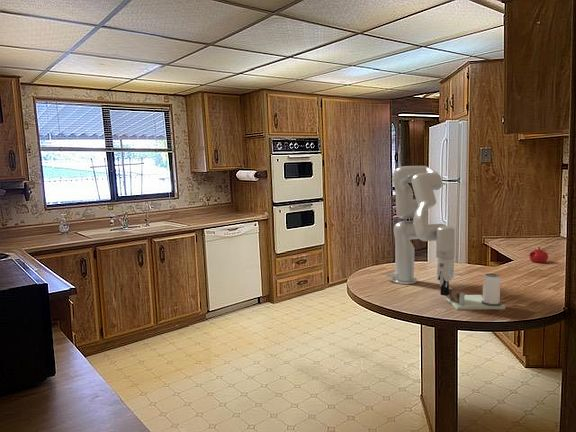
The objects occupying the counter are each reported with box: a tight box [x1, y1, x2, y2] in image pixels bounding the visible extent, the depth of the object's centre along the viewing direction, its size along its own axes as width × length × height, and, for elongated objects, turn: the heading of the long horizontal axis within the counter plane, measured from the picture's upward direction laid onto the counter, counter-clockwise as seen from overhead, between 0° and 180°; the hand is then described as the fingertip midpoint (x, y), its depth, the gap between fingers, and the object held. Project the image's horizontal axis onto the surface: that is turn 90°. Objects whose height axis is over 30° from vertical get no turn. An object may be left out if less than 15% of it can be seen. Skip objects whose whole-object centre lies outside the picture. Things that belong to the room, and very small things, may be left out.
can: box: [482, 272, 501, 304], centre depth 187 cm, size 6×6×12 cm
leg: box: [446, 286, 462, 303], centre depth 194 cm, size 11×2×4 cm, turn 11°
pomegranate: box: [528, 246, 549, 264], centre depth 263 cm, size 10×10×9 cm
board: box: [444, 282, 506, 310], centre depth 191 cm, size 20×16×7 cm
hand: (444, 294), depth 194 cm, fingers closed
